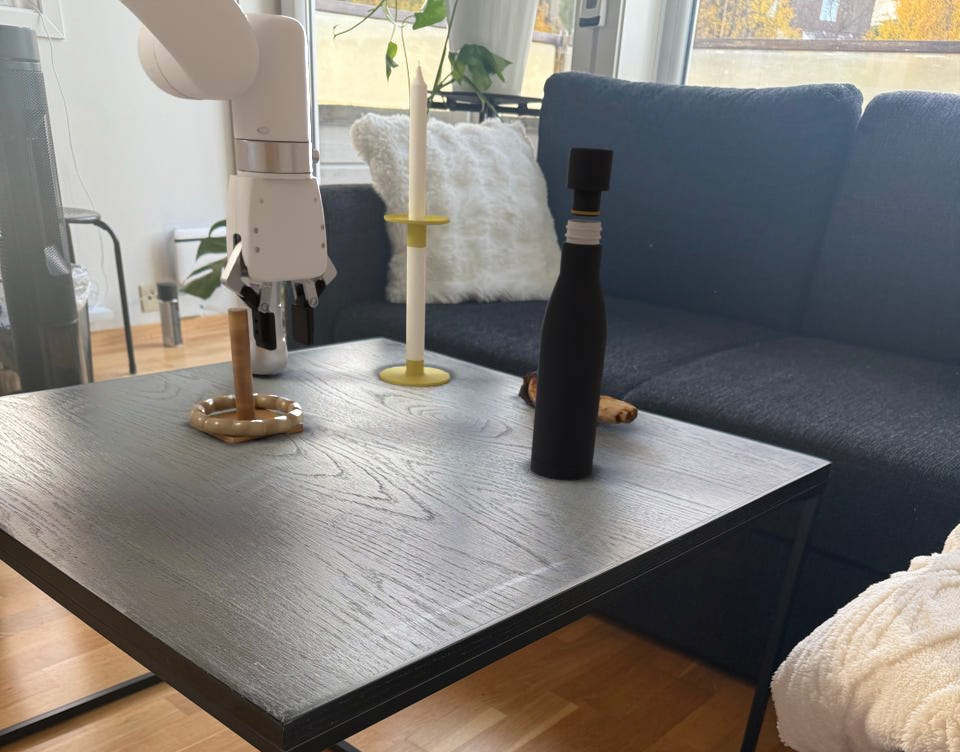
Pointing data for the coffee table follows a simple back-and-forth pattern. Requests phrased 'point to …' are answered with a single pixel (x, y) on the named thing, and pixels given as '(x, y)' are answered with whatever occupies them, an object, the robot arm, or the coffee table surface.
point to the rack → (243, 380)
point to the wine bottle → (573, 333)
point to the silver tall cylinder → (276, 359)
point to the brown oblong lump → (608, 407)
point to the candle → (416, 249)
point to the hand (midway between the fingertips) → (285, 343)
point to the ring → (249, 427)
